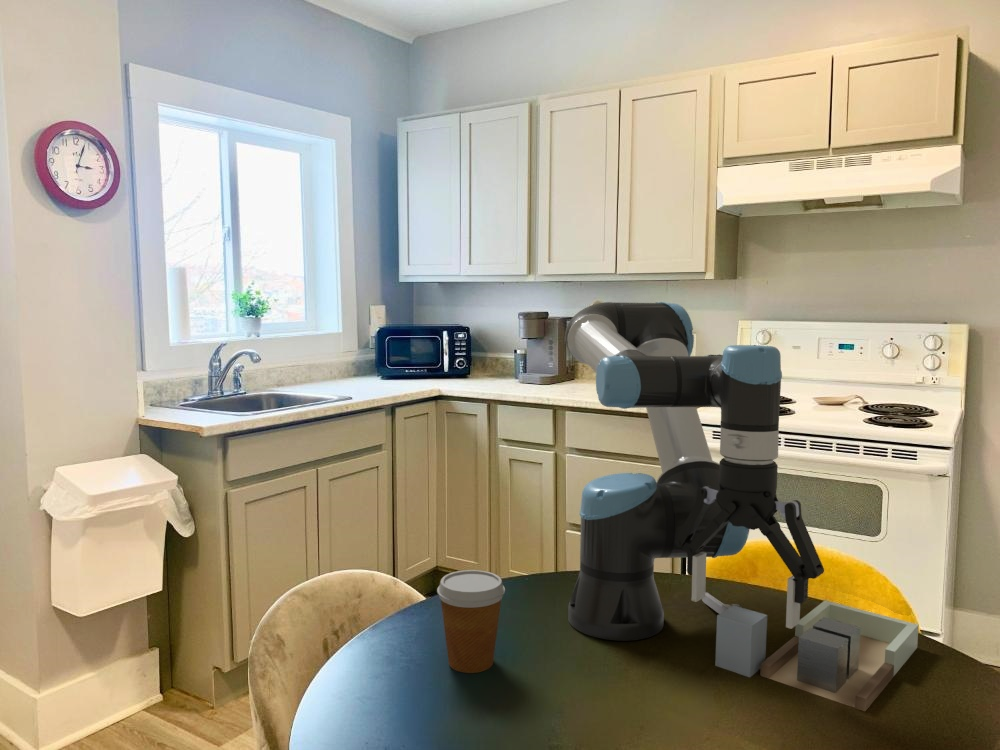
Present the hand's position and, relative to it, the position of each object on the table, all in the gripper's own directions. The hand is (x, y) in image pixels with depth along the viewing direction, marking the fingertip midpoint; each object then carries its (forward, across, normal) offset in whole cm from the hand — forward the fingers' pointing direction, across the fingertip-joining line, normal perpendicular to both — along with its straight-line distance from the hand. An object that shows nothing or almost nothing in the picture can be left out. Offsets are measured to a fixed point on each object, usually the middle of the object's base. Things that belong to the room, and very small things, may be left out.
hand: (743, 611), depth 105 cm
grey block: (+9, 0, 0) cm, 9 cm away
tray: (+9, +10, +17) cm, 22 cm away
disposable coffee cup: (+9, -29, -24) cm, 39 cm away
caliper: (+9, -10, +14) cm, 20 cm away
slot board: (+9, +10, +11) cm, 17 cm away
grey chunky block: (+8, +10, +8) cm, 15 cm away
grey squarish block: (+8, +10, +3) cm, 13 cm away
